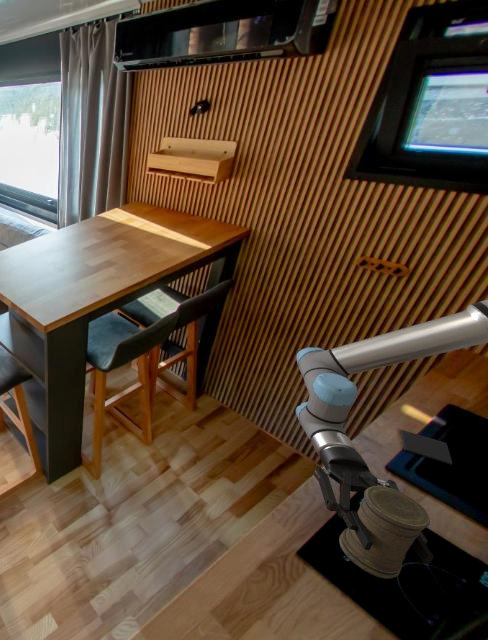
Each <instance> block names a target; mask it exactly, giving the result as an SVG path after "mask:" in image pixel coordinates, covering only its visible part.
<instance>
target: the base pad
mask: <svg viewBox="0 0 488 640" xmlns="http://www.w3.org/2000/svg"><path fill="white" fill-rule="evenodd" d="M400 432H401V440H402V444H403V445H402V446H403V450H404V451H405V452H409V453H411V454H415V455H418V456H422V457H424V458H428V459H430V460H434V461H437V462H440V463H443V464H446V465H450V466H452V465H453V460H452V457H451V454H450V450H449V447H448V444H447V442H444V441H441V440H438V439H435V438H431V437H427V436H424V435H421V434H418V433H415V432H414V433H413V432H410V431H407V430H403V429H401V430H400Z"/></svg>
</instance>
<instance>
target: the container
mask: <svg viewBox="0 0 488 640" xmlns="http://www.w3.org/2000/svg"><path fill="white" fill-rule="evenodd" d="M399 491H400V490H399ZM399 491H397V490H395V489H392V488H388V487H383V486H379V485H378V486H372V487H369V488H368V489H366V490H365V492H364V494H363V500H362V501H361V502H360V505H359V508H358V510H357V511H356V513H357V514H358V516H359V518H360V520H361V521H362V523H363V525H364V527H365V528H366V530H367V532H368V534H369V536H370V537H371V539H372V541H373V545H372V547H371V548H370V550H365V549H364V548H363V546H362V544H361V542H360V540H359V539H358V537H357V535H356V533H355V531H354V530H351V529H349V528H348V527H347V528H345V529H344V530H343V531H342V533H341V534H340V535H339V539H338V541H339V542H338V543H339V546H340V549H341V550H342V552H343V554H345V556H346V557H347V558H348V559H349V560H350V561H351V562H352V563H353V564H354V565H356V566H357V567H359V568H360V569H362V570H363V571H365V572H366V573H368V574H370V575H372V576H374V577H377V578H379V579H385V580H386V579H388V580H389V579H394V578H397V577H398V576H399V575H400V573H401V571H402V568H403V562H404V561H405V559H406V554H407V552H408V551H409V550H410V548H411V547H412V546H411V545H412V544H413V542H414V540H415V539H416V537H418V536H419V534H420V531H421V532H422V531H423V530H425V529H426V528H428V527H429V526H430V523H431V517H430V515H429V513H428V511H427V510H426V509H425V508H424V507H423V505H422V504H421V503H419V502H418V501H417V500H415V499H414V498H413V497H411V496H410V495H408V494H406V493H404V492H402V491H400V492H399Z"/></svg>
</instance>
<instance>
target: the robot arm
mask: <svg viewBox="0 0 488 640" xmlns="http://www.w3.org/2000/svg"><path fill="white" fill-rule="evenodd" d="M487 343H488V299H485V300H482V301H477V302H475V303H471V304H468V305H467V308H466V309H465V310H463V311H459V312H455V313H453V314H449V315H446V316H442V317H438V318H436V319H431V320H428V321H424V322H421V323H419V324H418V323H417V324H414V325H410V326H406V327H403V328H400V329H397V330H393V331H389V332H386V333H383V334H379V335H376V336H371V337H368V338H364V339H361V340H357V341H355V342H351V343H348V344H343V345H340V346H337V347H333V348H330V349H327V350H325V349H323V348H322V347H321V348H320V347H305V348H302V349H301V350H300V351H298V352H297V354H296V356H295V357H296V358H295V359H296V362H297V368H298V370H299V371H300V373H301V376H302V378H303V381H304V384H305V386H306V389H307V392H308V394H309V395H308V400H307V401H305V402H302V403H301V404H300V405H298V406H297V407H296V409H295V414H296V416H297V420H298V421H299V424H300V425H301V427H302V429H303V431H304V432H305V434H306V435H307V437H308V439H309V441H310V443H311V445H312V446H313V448H314V450H315V452H316V453H317V455H318V457H319V459H320V461H321V463H322V465H323V466H324V469H323V468H322V467H320V466H316V467H315V469H314V471H313V476H314V478H315V479H316V480H317V481H318V485H319V487H320V491H321V495H322V496H323V501H324V504H325V507H326V509H327V510H328V511H330V512H336V513H337V516H338V517H339V518H340V519H343V521H344V523H345V524H346V526H347V528H349V529H351V530H354V531H355V533H356V535H357V537H358V539H359V540H360V542H361V544H362V546H363V548H364V549H365V550H370V548H371V547H372V545H373V541H372V539H371V537H370V536H369V534H368V532H367V530H366V528H365V527H364V525H363V523H362V521H361V520H360V518H359V516H358V514H357V510H356V511H355V510H351V492H353V493H360V494H363V495H364V492H365V490H366V489H368V488H369V487H372V486H383V487H388V488H392V489H395V490H397V491H399V492H401V491H400V489H399V487H398V485H397V482H396V481H394V480H393V479H387V480H383V479H379V478H377V477H376V476H375V475H374V474H373V473H372V472H371V470H370V468H369V466H368V464H367V462H366V461H365V460H364V458H363V457H362V455H361V454H360V452H359V450H358V449H357V447H356V446H355V445H354V443H353V442H352V440H351V439H350V437H349V436H348V434H347V433H346V431H345V429H344V426H345V423H346V420H347V418H348V415H349V414H350V412H351V409H352V406H353V405H354V403H355V402H356V400H357V393H358V387H357V385H356V384H355V382H353V381H351V380H350V379H349V378H347V377H348V376H352V375H356V374H361V373H365V372H368V371H372V370H373V371H374V370H377V369H381V368H385V367H389V366H390V367H391V366H394V365H398V364H401V363H406V362H410V361H414V360H415V361H416V360H419V359H423V358H426V357H432V356H436V355H441V354H444V353H449V352H453V351H456V350H461V349H466V348H470V347H474V346H478V345H483V344H487ZM330 479H332V480H333V481H334V482H336V483H337V484H339V488H338V489H339V491H338V492H339V501H337V499H336V495H335V493H334V489H333V487H332V483H331V481H330ZM427 544H428V539H427V537H426V536H425V534H424V533H423V531H422V530H421V531H420V534H419V536H418V537H416V539H415V540H414V542H413V544H412V545H411V546H410V547H412V549H413V550H414V552H415V554H416V555H417V556H418V558H419V560H420V561H421V563H422V564H423V565H427V566H428V565H430V564H431V562H432V561H433V560H434V559H435V555H434V554H433V553H432V552H431V550H430V548H429V547H428V546H427Z"/></svg>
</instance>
